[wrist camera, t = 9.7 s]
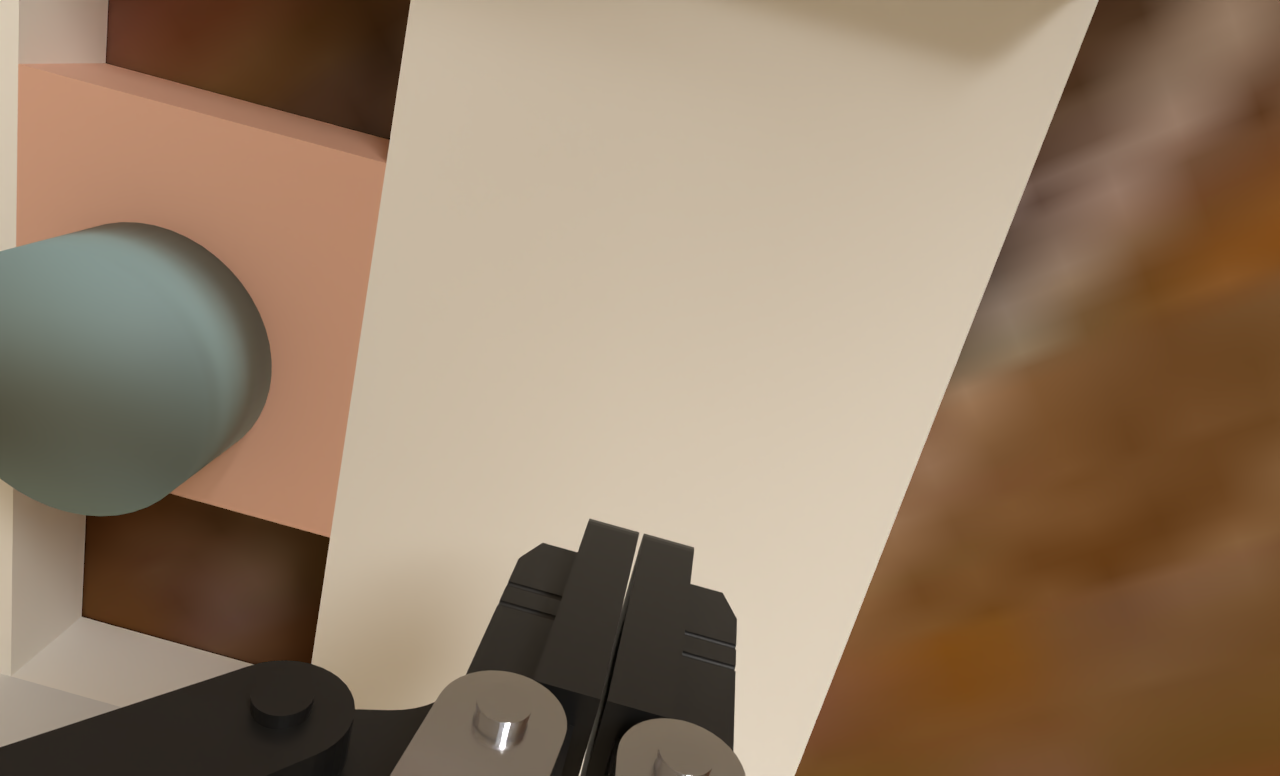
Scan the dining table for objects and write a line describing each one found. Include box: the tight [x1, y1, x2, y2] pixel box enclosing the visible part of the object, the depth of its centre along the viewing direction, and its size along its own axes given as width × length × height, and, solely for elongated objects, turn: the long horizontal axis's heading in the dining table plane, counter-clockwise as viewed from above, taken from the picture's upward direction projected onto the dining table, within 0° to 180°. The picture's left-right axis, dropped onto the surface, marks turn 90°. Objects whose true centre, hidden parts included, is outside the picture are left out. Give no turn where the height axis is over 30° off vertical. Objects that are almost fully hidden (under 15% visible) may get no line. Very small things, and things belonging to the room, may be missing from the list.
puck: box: [0, 222, 272, 516], centre depth 18 cm, size 5×5×2 cm
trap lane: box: [0, 0, 1099, 776], centre depth 18 cm, size 22×20×5 cm
